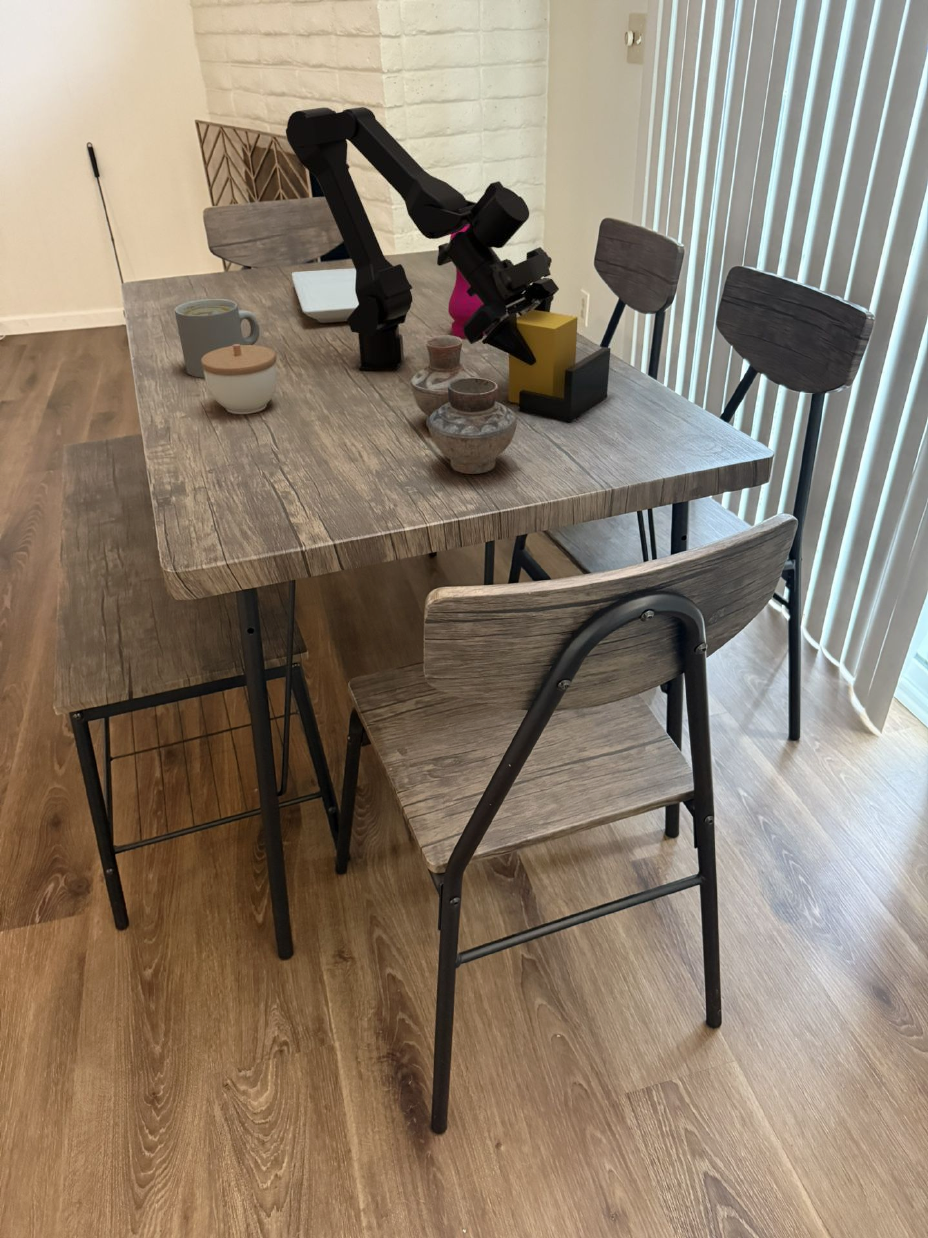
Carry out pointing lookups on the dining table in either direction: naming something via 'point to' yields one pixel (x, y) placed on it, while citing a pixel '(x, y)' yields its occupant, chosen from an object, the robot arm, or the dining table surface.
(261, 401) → the trinket box
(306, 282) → the tray
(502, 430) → the pottery
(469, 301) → the pepper mill
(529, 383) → the storage box
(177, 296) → the dining table surface
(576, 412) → the rack
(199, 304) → the coffee mug
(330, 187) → the robot arm
